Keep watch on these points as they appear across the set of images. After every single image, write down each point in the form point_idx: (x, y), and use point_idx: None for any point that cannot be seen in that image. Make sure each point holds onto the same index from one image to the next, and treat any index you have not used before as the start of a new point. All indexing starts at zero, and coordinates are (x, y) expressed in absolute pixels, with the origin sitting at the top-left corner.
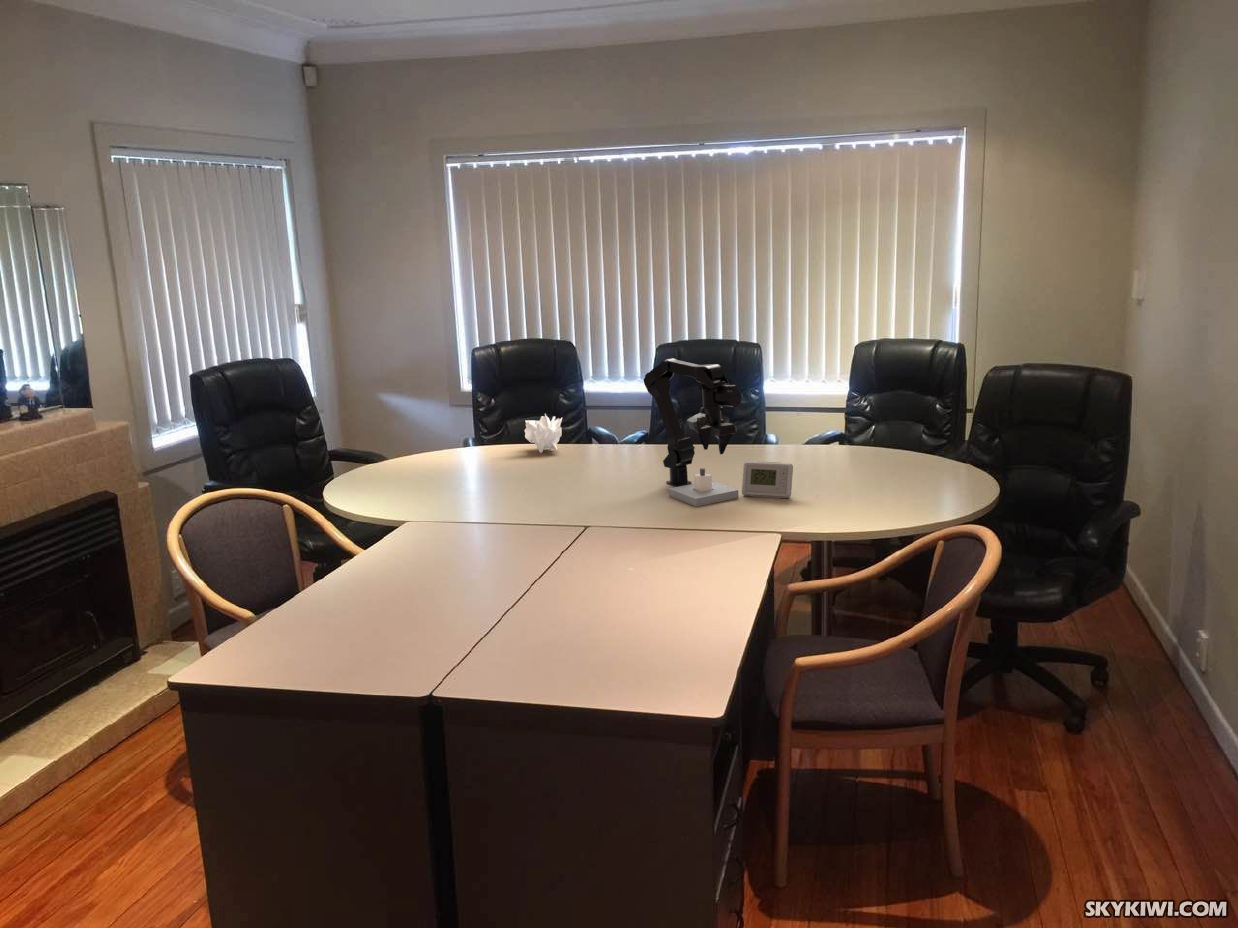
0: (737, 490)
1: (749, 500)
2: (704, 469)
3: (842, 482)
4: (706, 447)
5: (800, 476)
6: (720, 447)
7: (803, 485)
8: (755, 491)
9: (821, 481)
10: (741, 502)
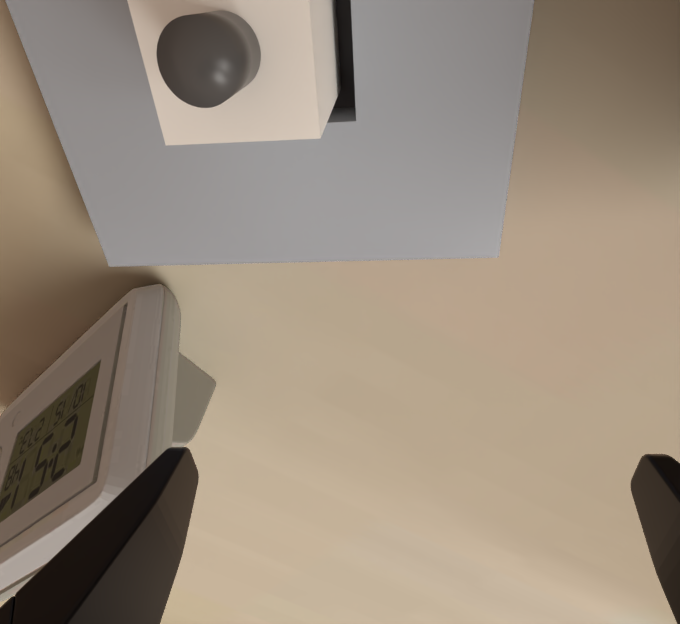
0: (108, 258)
1: (46, 257)
2: (168, 82)
3: (196, 606)
4: (649, 505)
5: (358, 584)
6: (64, 550)
7: (223, 535)
8: (87, 340)
9: (245, 585)
10: (9, 193)
